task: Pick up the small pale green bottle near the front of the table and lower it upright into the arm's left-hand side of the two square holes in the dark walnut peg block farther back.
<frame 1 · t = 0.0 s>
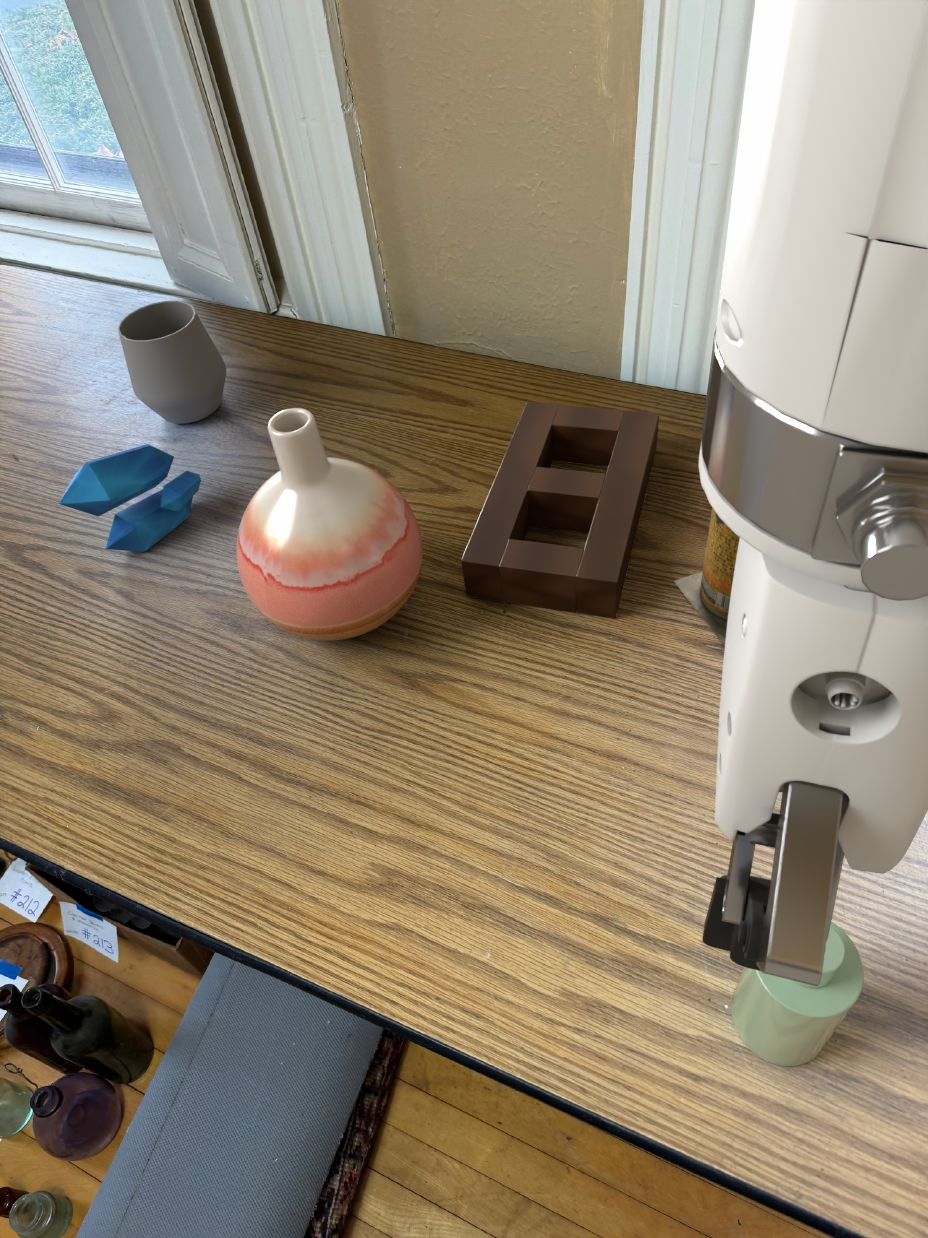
hand: (763, 816, 31), 20 cm above the table, tool pointing down, fingers open, 9 cm apart
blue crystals: (154, 532, 77), on the table
condiment: (745, 606, 64), on the table
bottle: (778, 1017, 45), on the table
cup: (193, 409, 89), on the table
peg block: (567, 518, 72), on the table
vase: (348, 606, 68), on the table
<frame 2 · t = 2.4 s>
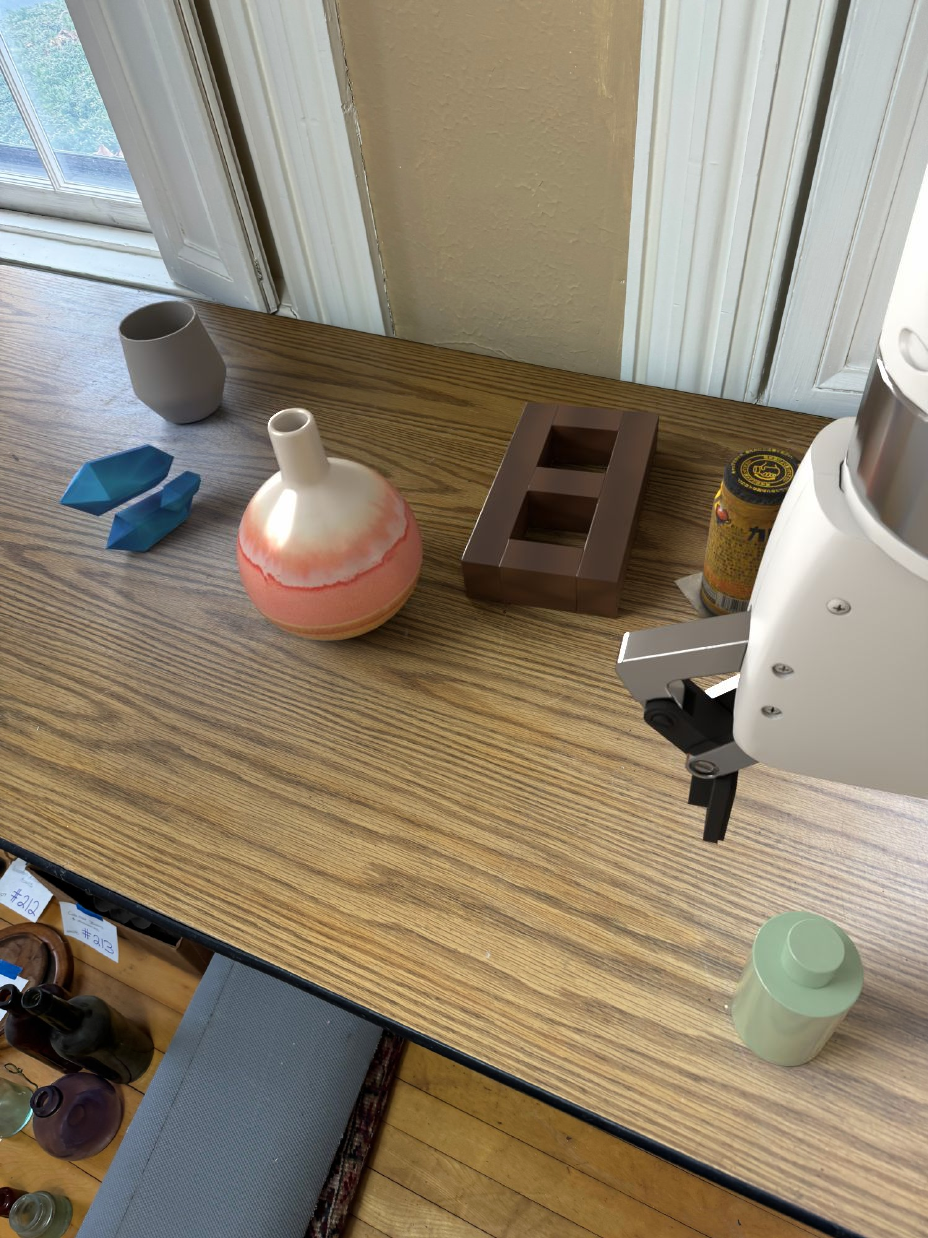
hand: (856, 836, 30), 20 cm above the table, tool pointing down, fingers open, 9 cm apart
nothing on the table moved.
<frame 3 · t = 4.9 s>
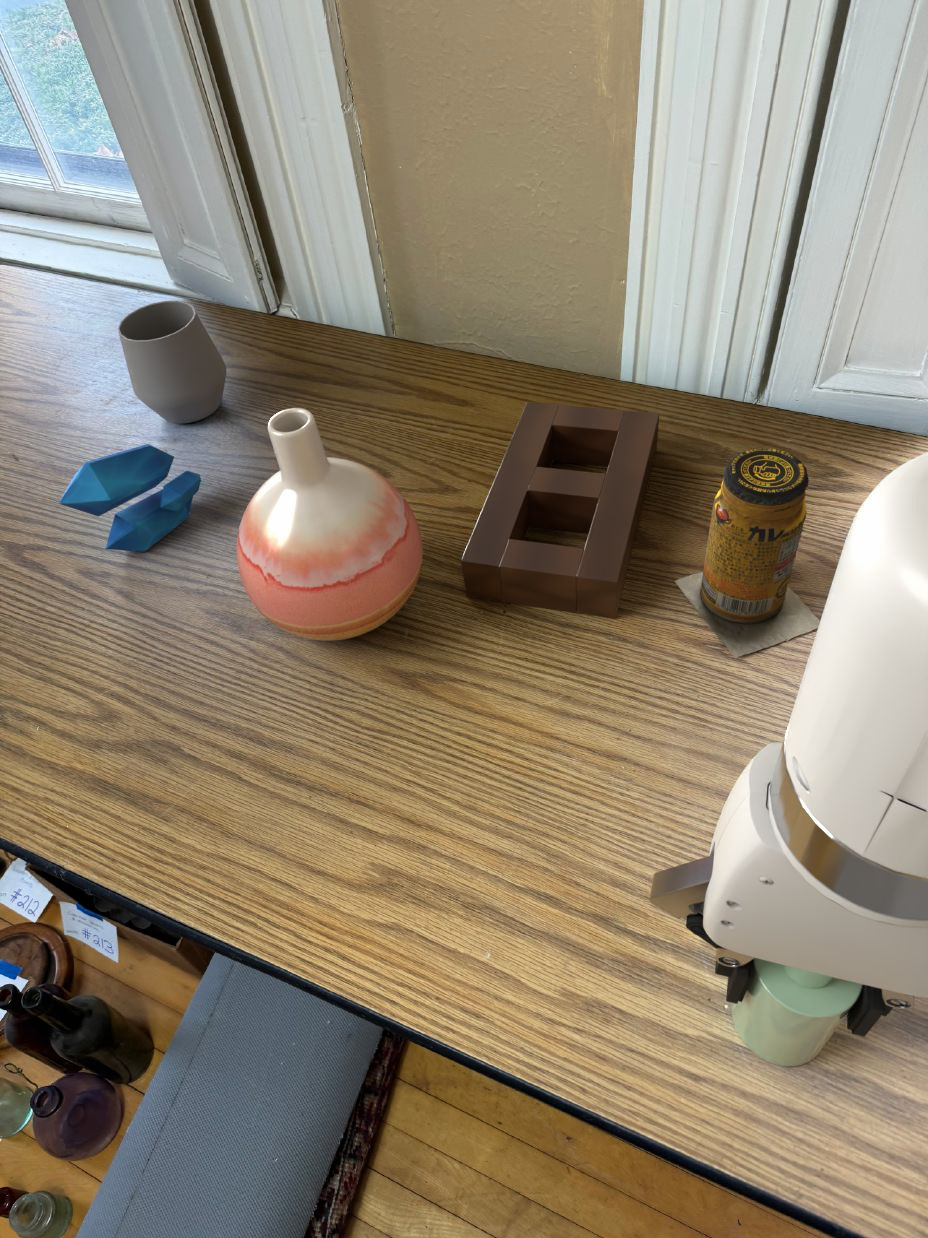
hand: (795, 985, 41), 5 cm above the table, tool pointing down, fingers closed on bottle, 4 cm apart
bottle: (778, 1017, 45), on the table, touching gripper
everything else where it was.
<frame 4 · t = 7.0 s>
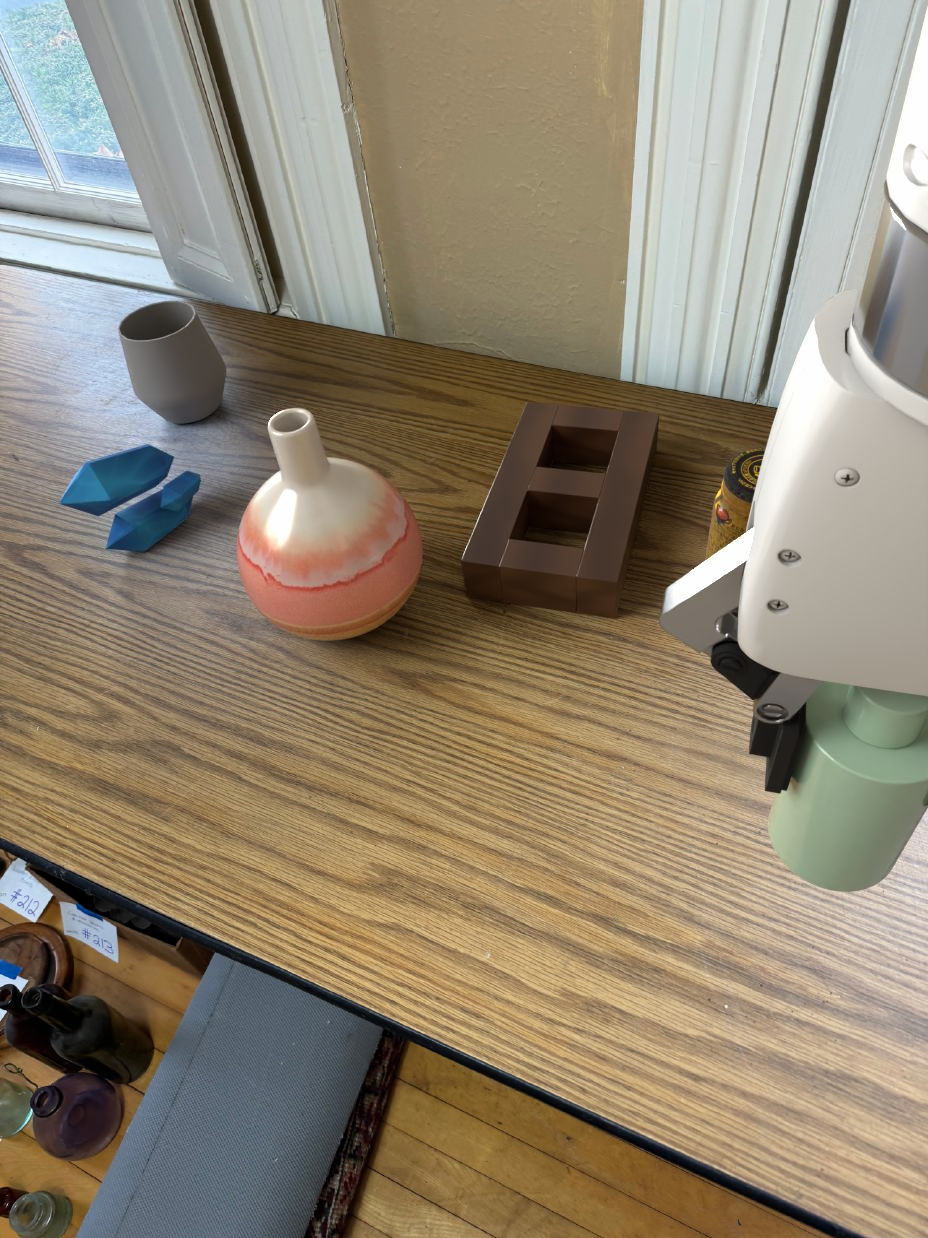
hand: (858, 769, 30), 21 cm above the table, tool pointing down, fingers closed on bottle, 4 cm apart
bottle: (831, 834, 34), point 17 cm above the table, touching gripper
everything else where it was.
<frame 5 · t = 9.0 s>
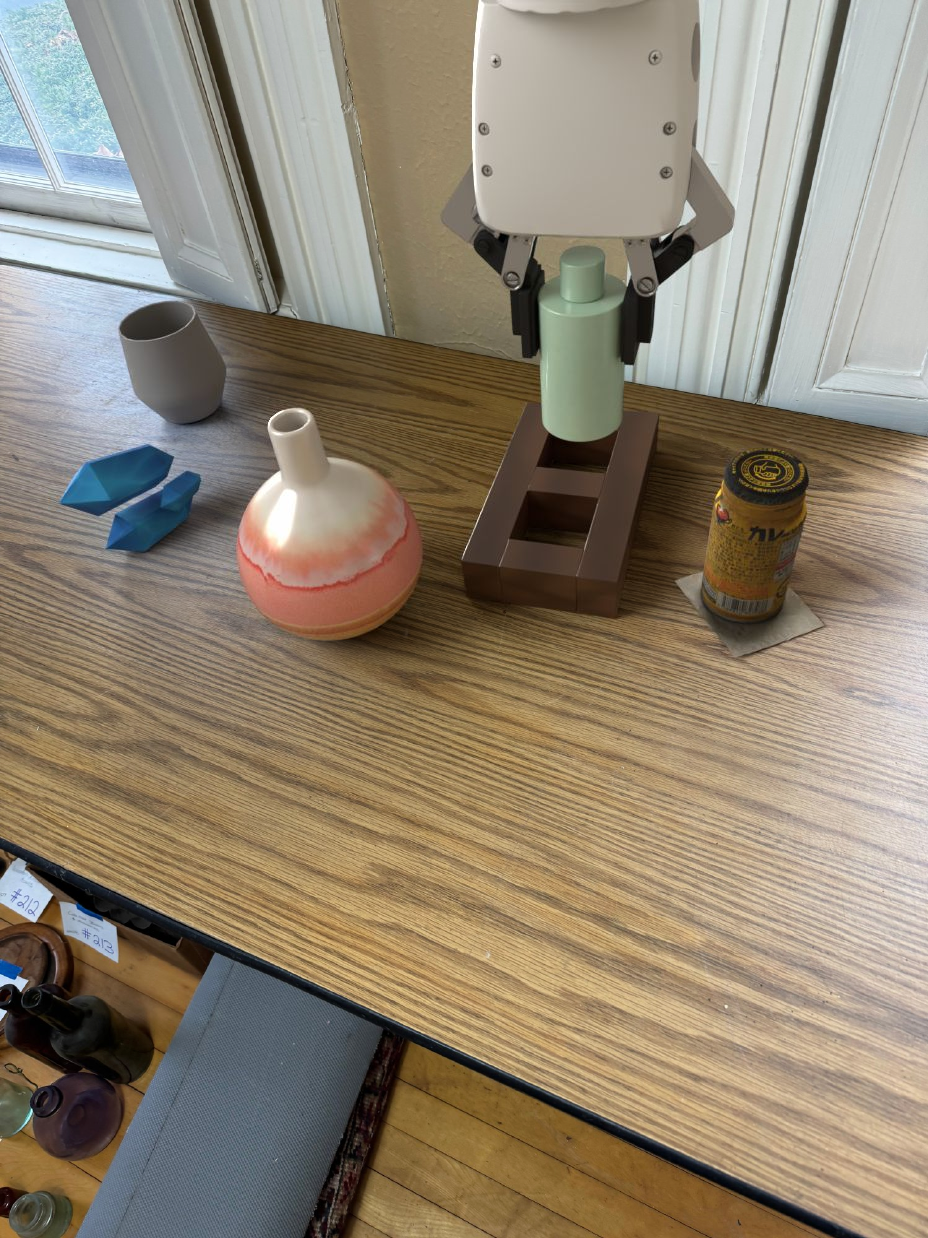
hand: (582, 345, 48), 23 cm above the table, tool pointing down, fingers closed on bottle, 4 cm apart
bottle: (582, 417, 51), point 18 cm above the table, touching gripper
everything else where it was.
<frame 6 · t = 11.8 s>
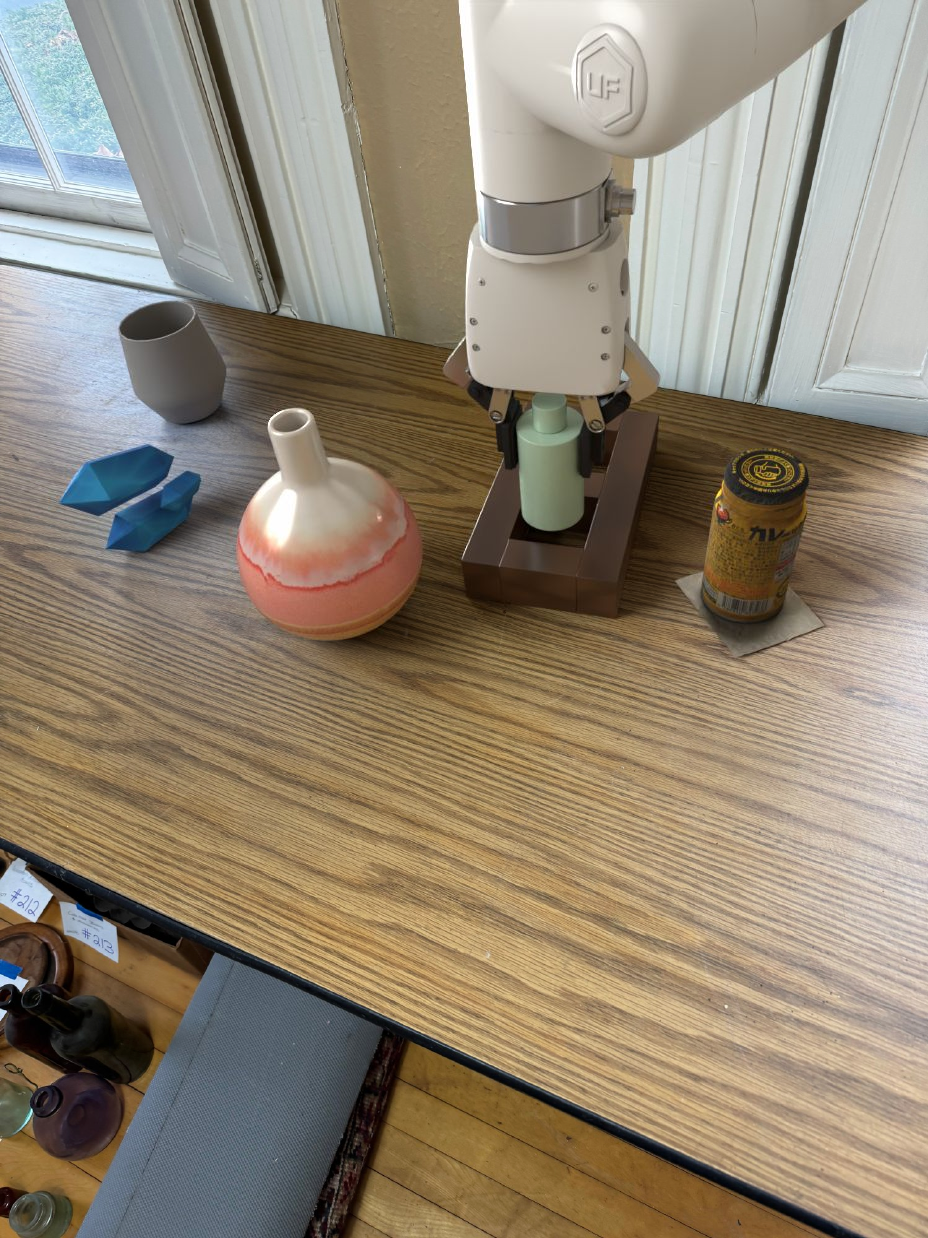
hand: (551, 459, 62), 10 cm above the table, tool pointing down, fingers closed on bottle, 4 cm apart
bottle: (552, 510, 66), point 5 cm above the table, touching gripper
everything else where it was.
when the fingers open (5 cm above the table, at t = 13.5 s): bottle stays where it is, resting in peg block.
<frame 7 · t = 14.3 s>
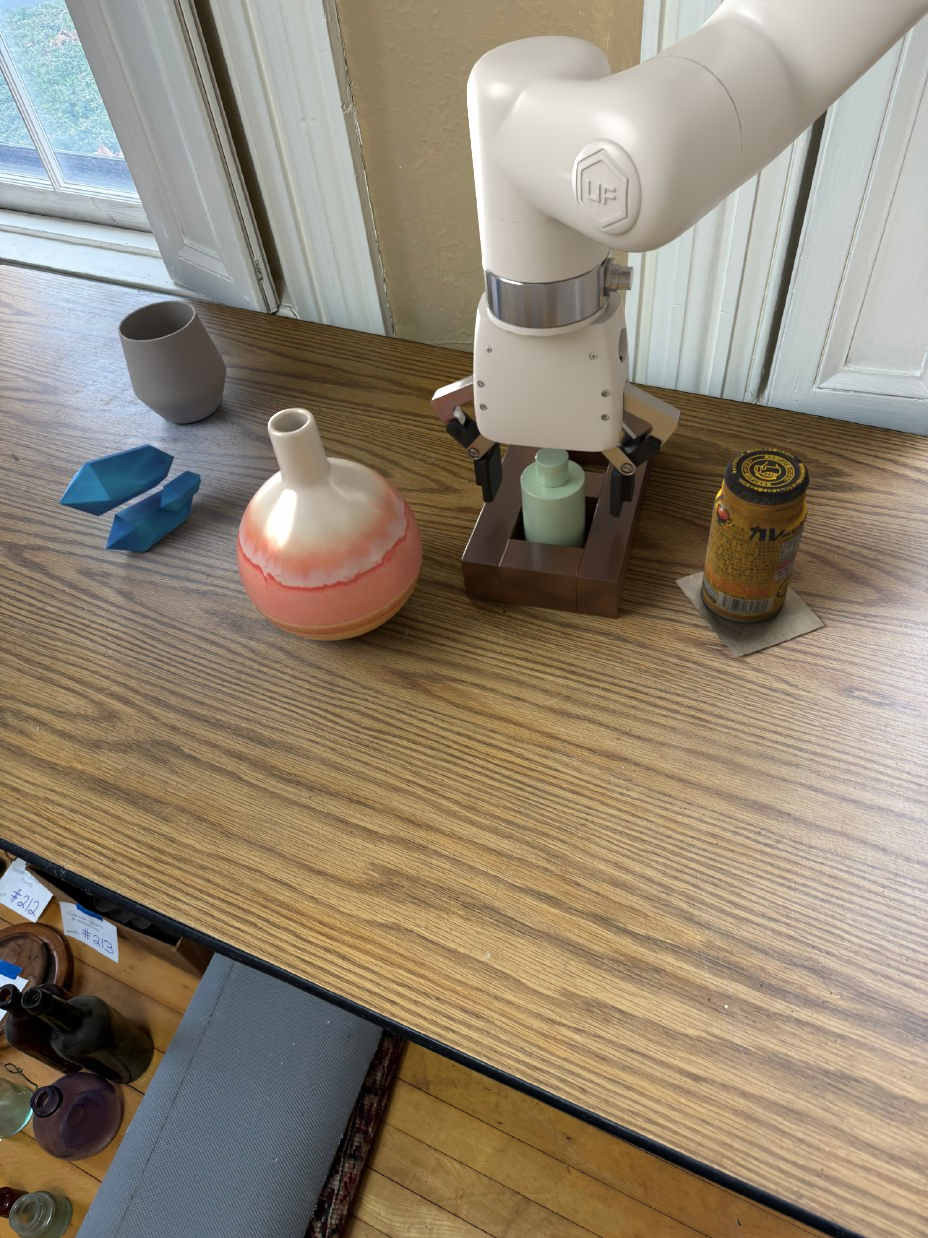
hand: (554, 497, 65), 6 cm above the table, tool pointing down, fingers open, 9 cm apart
bottle: (555, 554, 69), resting in peg block
everything else where it was.
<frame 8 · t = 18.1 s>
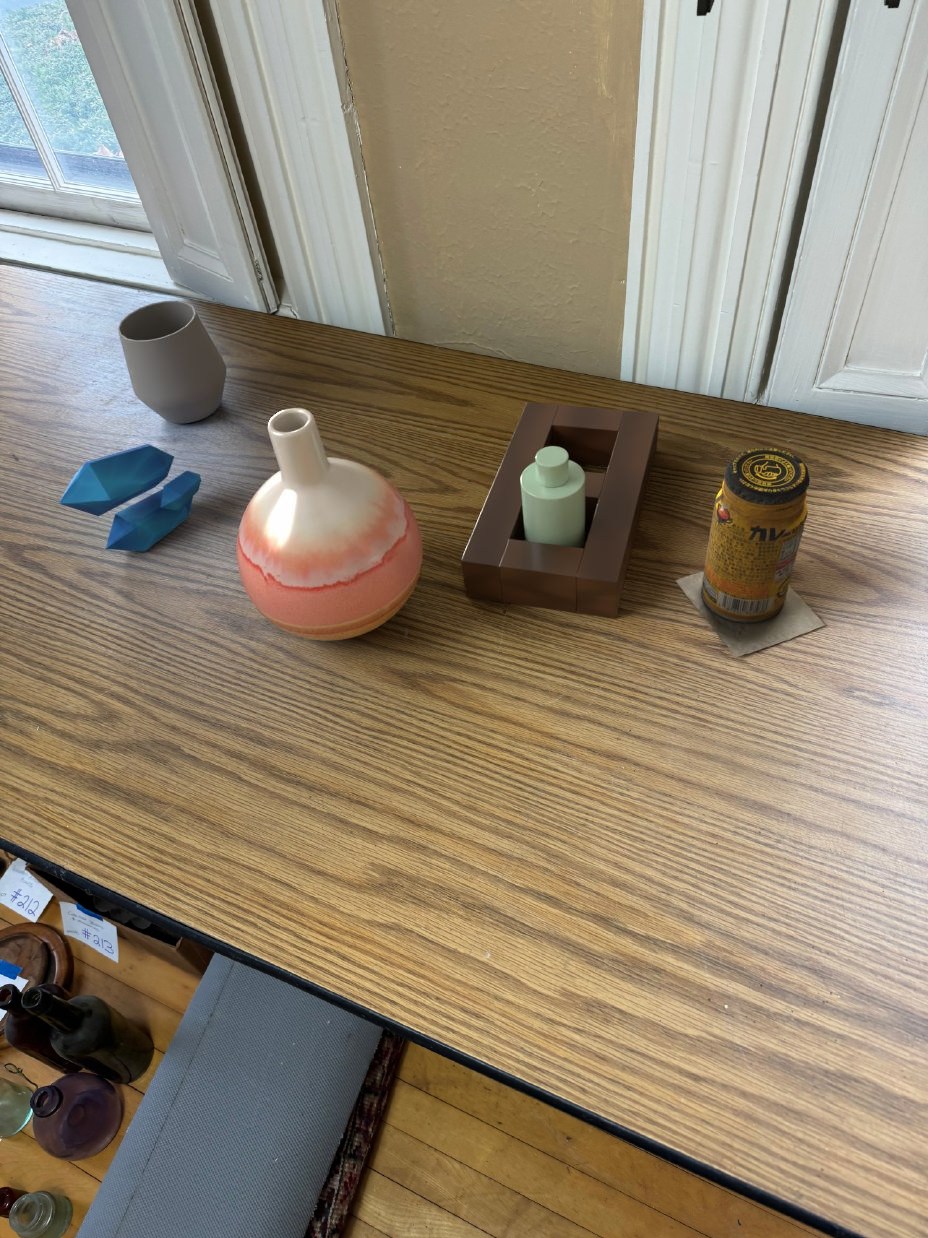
hand: (795, 4, 47), 34 cm above the table, tool pointing down, fingers open, 9 cm apart
nothing on the table moved.
at the end: bottle 0.0 cm from the target spot in the peg block, point 0.0 cm above the peg block's base; bottle tilted 0°; the gripper is holding nothing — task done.
